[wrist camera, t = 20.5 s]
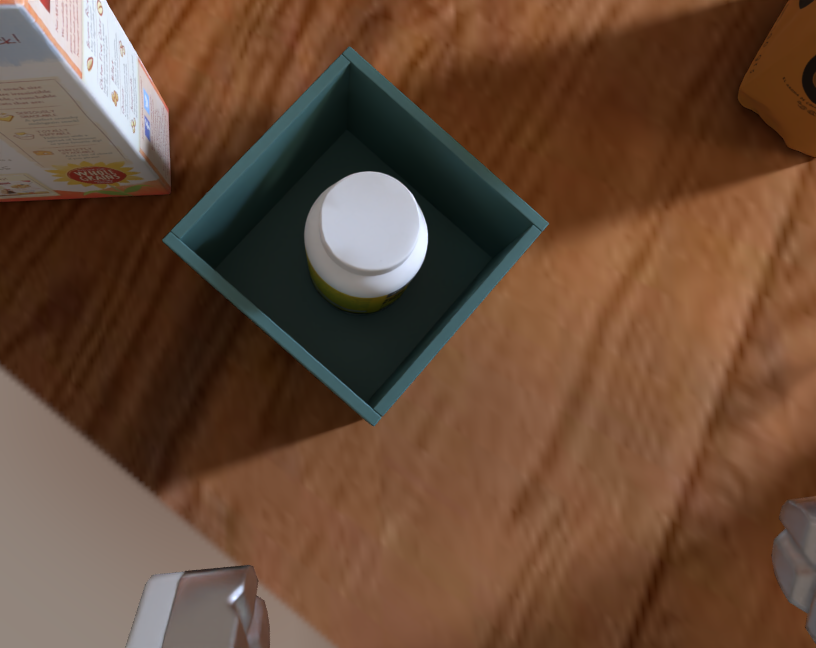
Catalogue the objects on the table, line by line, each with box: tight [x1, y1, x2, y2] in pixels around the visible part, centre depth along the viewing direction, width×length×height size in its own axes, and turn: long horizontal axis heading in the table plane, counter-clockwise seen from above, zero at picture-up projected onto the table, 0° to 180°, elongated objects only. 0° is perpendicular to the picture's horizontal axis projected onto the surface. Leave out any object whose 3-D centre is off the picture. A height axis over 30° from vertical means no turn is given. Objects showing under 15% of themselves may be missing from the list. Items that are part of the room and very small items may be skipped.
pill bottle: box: [304, 171, 428, 315], centre depth 38 cm, size 6×6×11 cm
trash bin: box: [162, 47, 549, 426], centre depth 39 cm, size 13×13×10 cm
